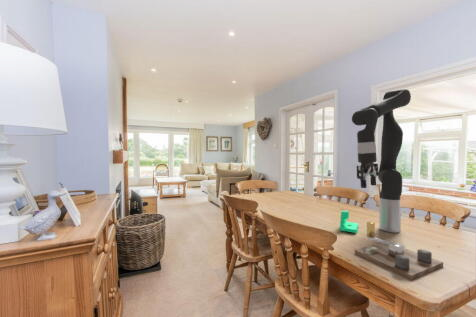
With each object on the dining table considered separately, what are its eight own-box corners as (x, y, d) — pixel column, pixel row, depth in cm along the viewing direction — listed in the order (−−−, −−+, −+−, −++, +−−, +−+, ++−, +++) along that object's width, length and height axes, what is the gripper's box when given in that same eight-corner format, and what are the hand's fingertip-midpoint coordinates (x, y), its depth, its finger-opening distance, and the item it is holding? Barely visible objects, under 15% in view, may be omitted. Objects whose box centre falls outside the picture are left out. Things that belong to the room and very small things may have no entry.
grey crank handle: (406, 256, 84) (406, 230, 84) (399, 259, 82) (400, 233, 82) (370, 243, 97) (370, 220, 96) (363, 245, 94) (363, 222, 94)
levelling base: (384, 244, 99) (384, 233, 99) (443, 266, 80) (443, 252, 80) (354, 253, 91) (354, 241, 91) (411, 280, 72) (411, 265, 72)
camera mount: (355, 235, 111) (355, 215, 111) (339, 232, 116) (339, 213, 115) (358, 228, 121) (358, 209, 121) (343, 225, 125) (343, 208, 125)
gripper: (366, 151, 108) (368, 184, 108) (350, 153, 101) (352, 187, 101) (383, 151, 101) (385, 185, 102) (366, 152, 94) (368, 189, 94)
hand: (368, 186), depth 101 cm, fingers open, 8 cm apart
